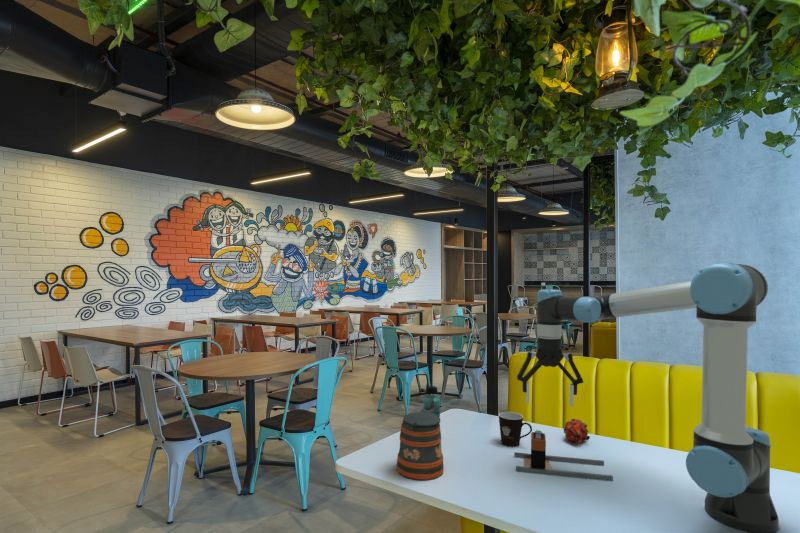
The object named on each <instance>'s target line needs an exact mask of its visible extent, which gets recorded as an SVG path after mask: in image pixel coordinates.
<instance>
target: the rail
mask: <svg viewBox="0 0 800 533" xmlns="http://www.w3.org/2000/svg"><path fill="white" fill-rule="evenodd" d="M513 453H514V454H513V455H514V458H519V457H520V459H522V458H523V462H524V466H520V465H516V466H515V471H516V472H520V473H530V474H540V475H541V474H542V475H549V476H550V475H551V476H559V477H560V476H562V477H570V478H579V477H580V478H581V479H588V478H589V479H591V480H601V481H609V482H613V481H614V476H613V475H611V474H601V473H592V472H591V473H589V472H582V471H581V472H580V471H570V470H561V469H552V465H551V462H562V463H571V464H582V465H592V466H593V465H594V466H602V467H603V466H605V461H604V460H602V459H601V460H600V459H592V458H591V459H590V458H581V457H580V458H577V457H568V456H557V455H547V454H546V462H545V469H542V468H533V467H531V453H528V452H527V453H524V452H513ZM550 461H551V462H550Z"/></svg>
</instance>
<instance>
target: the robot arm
mask: <svg viewBox="0 0 800 533" xmlns="http://www.w3.org/2000/svg"><path fill="white" fill-rule="evenodd" d="M768 291H769V285H768V280H767V279H766V277H765V276H764V274H763V273H762V272H760V270H759V269H757V268H755V267H753V266H751V265H747V264H742V263H732V262H718V263H714V264H709V265H707V266H705V267H703V268H701V269H700V270H699V271H697V272H696V274H694V276H693V278H692V279H691V280H689V281H681V282H676V283H671V284H663V285H658V286H651V287H646V288H639V289H634V290H628V291H620V292H615V293H608V294H603V295H592V296H564V295H563V294H562V290H560V289H540V290H538V292H537V299H536V300H537V301H536V308H537V309H536V310H537V311H536V312H537V321H536V322H537V327H536V328H537V333H536V335H537V336H538V337H537V339H536V340H537V341H536V352H535V351H534V352H533V351H530V350H528V351H527V352H526V358H525V360H524V361H523V363H522V366H521V367H520V369H519V371H518V373H517V376H516V379H517V381H520V382H521V383H522V388H521V389H522V392H523V393H525V403H526V404H530V383H529V380H530V379H531V378H532V376H534V374H536V372H537V371H538V370H539V369H540V368H541V367H542V366H543V367H546V368H547V367H552V368H555V367H557V366H558V367H559V369H560V370H561V371H562V372H563V373H564V375H565V376H566V377H567V378H568V379H569V381H570V382H571V383H569V405H570V406H571V407H574V406H575V405H574V404H575V401H574V400H575V398H574V396H577V394H578V385H579V384H580V385H581V384H583V383H584V380H583V377H582V375H581V374H580V371H579V370H578V368H577V366H576V364H575V362H574V358H573V354H572V353H571V352H567V353H563V348H562V347H563V345H562V343H563V342H562V338H561V337H562V336H563V335H562V334H563V332H562V327H563V326H562V325H563V324H562V322H563V321H573V322H579V323H580V322H581V323H584V324H585V323H595V322H597V321H598V320H609V319H617V318H623V317H630V316H639V315H648V314H654V313H655V314H656V313H666V312H674V311H679V310H680V311H683V310H689V309H690V310H691V309H696V310H695V312H696V319H697V320H698V321H699V322H700V323H701V324H702V326H703V331H702V332H703V333H702V372H701V374H702V375H701V377H702V379H701V380H702V381H701V383H702V384H701V412H700V414H701V416H700V417H701V418H700V419H701V420H700V423H699V424H697V425H696V426H694V428H693V437H692V438H693V440H692V441H693V443H692V445H693V446H692V448H691V449H690V450H689V451H688V453H687V455H686V458H685V466H686V467H685V468H686V471H687V472H688V475H689V477H690V478H691V480H692V481H693V482H694V483H695V484H696V485H697V486H698V487H699V488H700V489H702V490H703V491H704V492H706V496H705V498H704V511H705V512H706V513H707V514H708V515H709V516H711V518H714V519H715V520H717V521H718V522H720V523H722V524H724V525H726V526H729V527H732V528H735V529H738V530H740V531H741V530H742V531H746V532H750V533H776V532H777V531H779V525H780V524H779V516H778V513H777V510H776V507H775V504H774V502H773V499H772V496H771V492H770V491H771V490H770V489H771V486H770V484H771V448H772V446H771V439H770V435H769V434H768V433H767V432H765V431H763V430H760V429H757V428H754V427H751V426H750V427H749V426H747V425H746V421H747V420H746V418H747V417H746V416H747V414H746V413H747V411H746V410H747V375H748V372H747V371H748V335H749V334H748V333H749V332H748V331H749V328H750V327H752V326H754V324H756V323H757V309H758V308H757V307H758V306H759V305H761V303H763V301H764V300H765V299H766V297H767V295H768ZM535 357H536V359H537V361H536V362H535V364H533V366H532V367H531V369H529V370H528V372H527V373H525V372H526V371H527V368H528V366H529V365H530V363H531V361H532V360H533V359H534V358H535ZM563 359H565V360H566V361H568V364H569V365H570V366H569V367H570V368H571V369H572V372H573V373H574V375H575V378H576V379H575V378H574V376H572V374H571V373H570V372H569V371H568V370H567V368H566V367H565V366H564V365H563V364H562V363H561V362H562V360H563ZM524 374H525V375H524Z"/></svg>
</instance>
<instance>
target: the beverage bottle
mask: <svg viewBox="0 0 800 533" xmlns="http://www.w3.org/2000/svg"><path fill="white" fill-rule="evenodd" d="M425 393H426V394H428V395H425V396H424V397H423V399H422V409H423V408H424V407H425V406H427V402H428V400H429V399H430V398H434V406H439V409H438V410H437V411H436V412H435V415H437V416H438V417H439V418H440V419H441V399H440V397H439V396H438V395H437V394H438V387H437V386H434V385H433V386H432V385H430V386H426V390H425ZM439 424H440V425H441V422H440V423H439Z"/></svg>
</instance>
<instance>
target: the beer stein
mask: <svg viewBox="0 0 800 533" xmlns="http://www.w3.org/2000/svg"><path fill="white" fill-rule="evenodd" d="M438 409H439V406H434V398H430V399H429V400H428V402H427V406H425V407H424V408H423V407H422V408H421V410H420V411H415V412H410V413H408V414H405V415H404V416H403V419H402V422H401V424H400V433H399V441H400V442H399V451H398V453H397V458H396V467H395V468H396V472H398V474H400V475H401V476H403V477H404V478H407V479H410V480H417V481H425V480H427V481H429V480H433V479H436V478H439V477H441V476H442V475H443V473H444V470H445V468H444V455H443V453H442V452H443V450H442V433H441V431H442V430H441V417H440V418H439V417H438V416H437V415H435V412H436V411H437V410H438ZM439 423H440V424H439Z"/></svg>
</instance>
